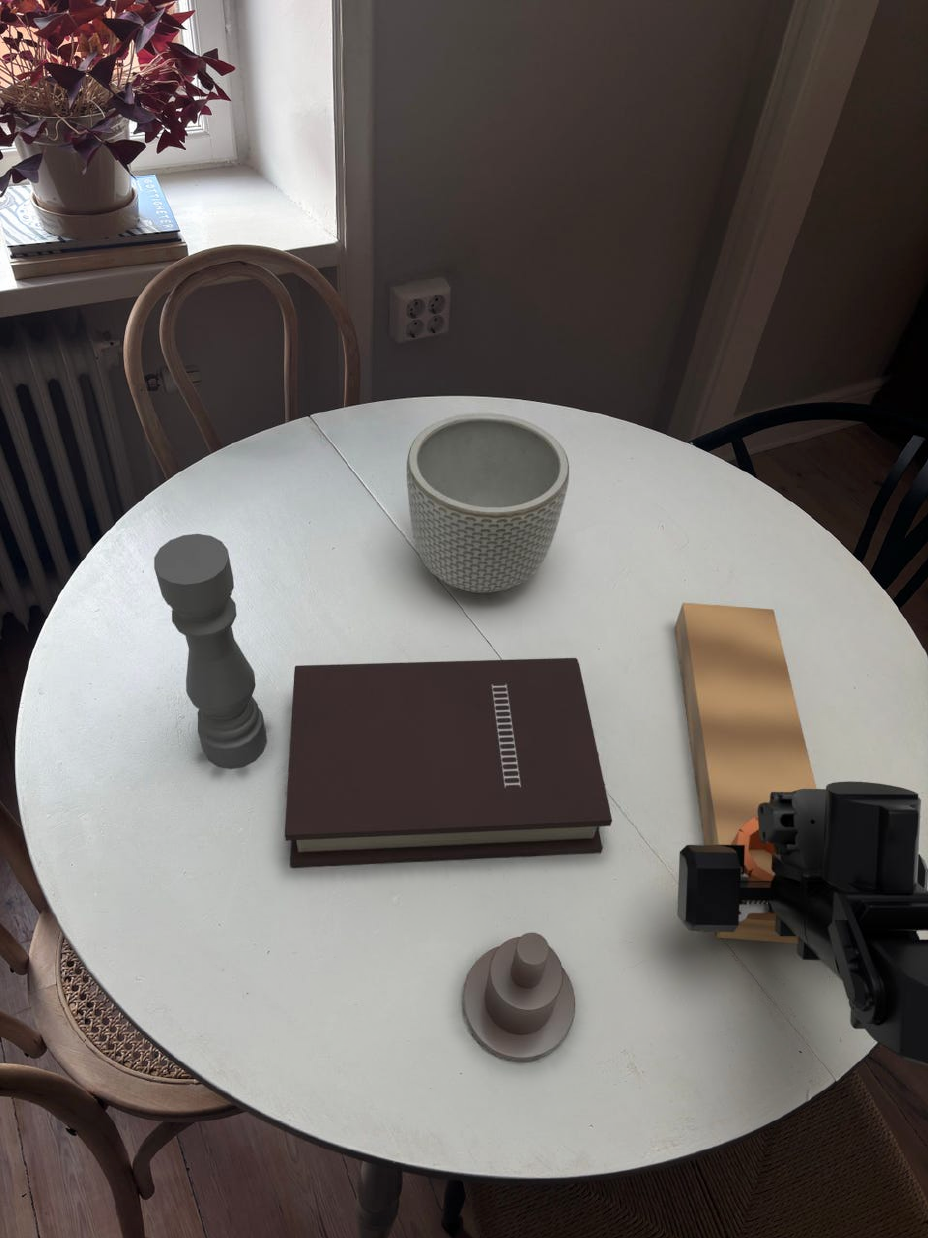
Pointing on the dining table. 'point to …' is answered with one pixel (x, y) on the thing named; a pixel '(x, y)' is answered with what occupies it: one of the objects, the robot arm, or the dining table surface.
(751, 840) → the ring
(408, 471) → the planter
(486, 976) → the peg stand
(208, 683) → the candle holder
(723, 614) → the wooden board
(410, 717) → the book
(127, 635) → the dining table surface
